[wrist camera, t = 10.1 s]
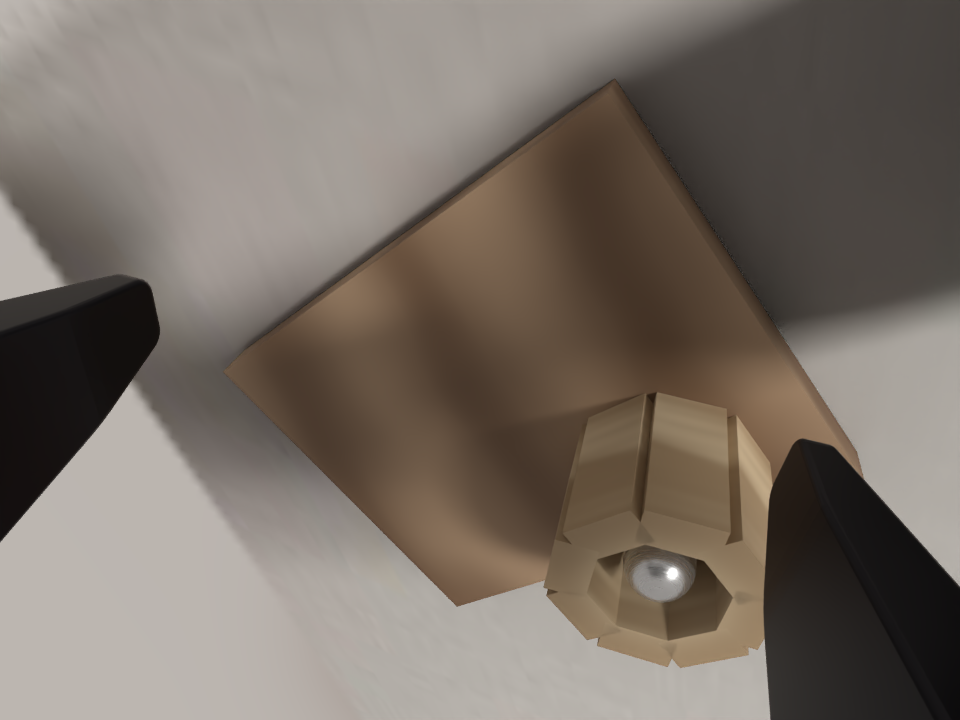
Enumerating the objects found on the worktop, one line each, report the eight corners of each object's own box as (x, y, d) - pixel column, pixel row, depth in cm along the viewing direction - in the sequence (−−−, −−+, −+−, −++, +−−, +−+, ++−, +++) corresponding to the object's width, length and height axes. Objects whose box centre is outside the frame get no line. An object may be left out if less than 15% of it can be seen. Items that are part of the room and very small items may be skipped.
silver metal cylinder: (677, 438, 22) (670, 561, 18) (709, 480, 22) (709, 608, 18) (623, 458, 23) (605, 579, 19) (655, 499, 24) (644, 624, 20)
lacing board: (614, 78, 18) (608, 92, 17) (857, 451, 22) (865, 484, 21) (244, 349, 27) (222, 371, 26) (466, 578, 31) (456, 606, 30)
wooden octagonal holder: (703, 367, 20) (701, 485, 16) (799, 504, 22) (819, 641, 18) (540, 438, 23) (505, 552, 19) (636, 553, 25) (623, 678, 21)
